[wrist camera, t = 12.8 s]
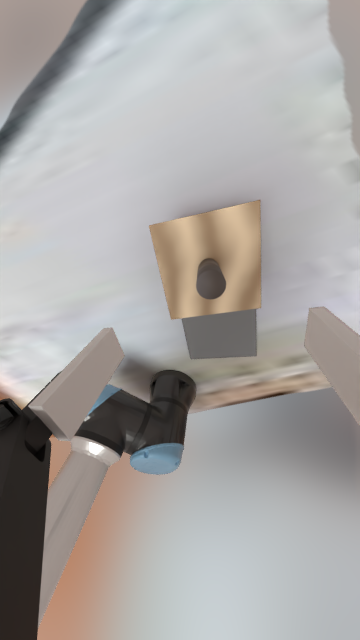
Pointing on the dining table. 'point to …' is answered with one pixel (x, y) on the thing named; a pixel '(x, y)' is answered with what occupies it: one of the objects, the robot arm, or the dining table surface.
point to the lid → (210, 261)
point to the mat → (221, 334)
